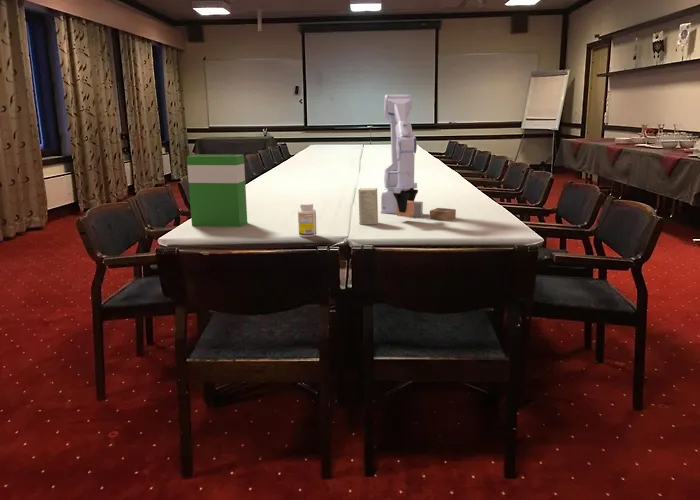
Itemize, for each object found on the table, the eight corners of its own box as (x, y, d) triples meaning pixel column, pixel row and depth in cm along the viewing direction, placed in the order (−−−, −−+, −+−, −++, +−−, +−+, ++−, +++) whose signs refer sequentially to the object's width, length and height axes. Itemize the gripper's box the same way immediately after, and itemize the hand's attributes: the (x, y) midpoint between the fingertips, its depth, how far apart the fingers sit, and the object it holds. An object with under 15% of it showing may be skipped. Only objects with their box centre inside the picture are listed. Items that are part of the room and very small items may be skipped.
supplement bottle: (307, 233, 185) (306, 201, 183) (320, 235, 182) (319, 203, 179) (295, 236, 181) (294, 204, 179) (307, 238, 178) (306, 205, 175)
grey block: (408, 216, 213) (408, 203, 212) (410, 214, 218) (410, 201, 216) (420, 216, 212) (420, 203, 211) (422, 214, 216) (422, 201, 215)
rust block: (397, 215, 202) (397, 201, 201) (402, 213, 206) (402, 200, 204) (408, 216, 200) (408, 202, 198) (414, 214, 203) (414, 200, 202)
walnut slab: (429, 220, 207) (429, 210, 206) (437, 217, 213) (438, 207, 212) (447, 221, 203) (447, 212, 202) (455, 218, 209) (455, 209, 208)
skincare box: (378, 222, 202) (378, 187, 199) (376, 224, 198) (376, 189, 195) (360, 222, 203) (360, 187, 200) (358, 224, 199) (358, 189, 196)
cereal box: (191, 225, 201) (186, 156, 195) (201, 221, 208) (196, 154, 202) (239, 226, 197) (235, 156, 192) (247, 222, 205) (243, 154, 199)
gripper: (407, 175, 191) (407, 215, 194) (425, 170, 203) (424, 208, 206) (388, 174, 194) (388, 213, 198) (406, 170, 207) (406, 207, 210)
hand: (405, 211), depth 202 cm, fingers closed on rust block, 4 cm apart
